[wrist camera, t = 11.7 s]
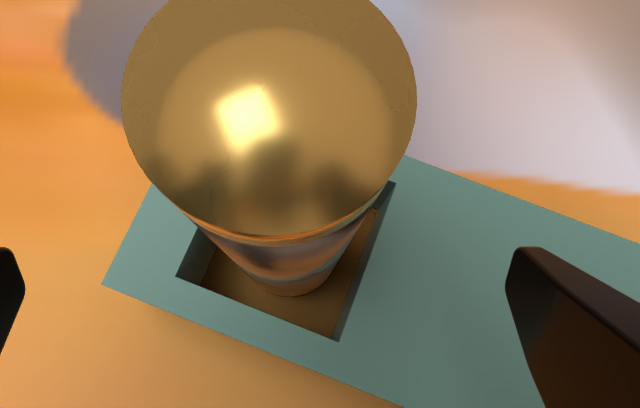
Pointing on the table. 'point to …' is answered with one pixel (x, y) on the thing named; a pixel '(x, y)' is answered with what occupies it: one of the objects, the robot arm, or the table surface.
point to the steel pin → (271, 125)
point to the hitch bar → (393, 290)
